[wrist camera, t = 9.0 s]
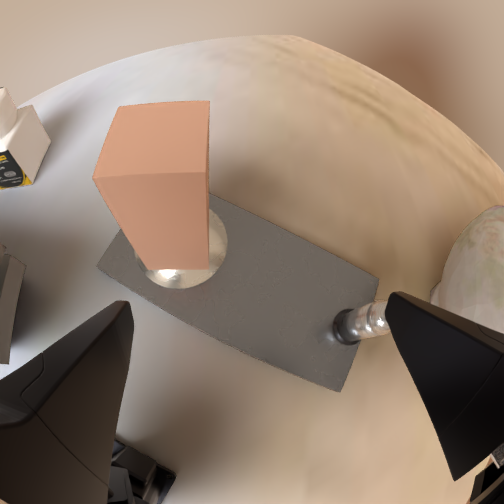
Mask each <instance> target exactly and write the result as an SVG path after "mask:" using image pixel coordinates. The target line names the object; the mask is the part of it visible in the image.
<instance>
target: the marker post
mask: <svg viewBox="0 0 504 504" xmlns="http://www.w3.org/2000/svg"><path fill="white" fill-rule="evenodd" d="M209 109H210V101H178V102H161V103H148V104H138V105H129V106H121V107H118V109H117V112H116V114H115V116H114V119H113V121H112V124H111V126H110V129H109V131H108V134H107V136H106V139H105V142H104V144H103V147H102V150H101V153H100V156H99V158H98V161H97V164H96V168H95V171H94V174H93V177H92V179H93V181H94V182H95V184H96V186H97V188H98V190H99V192H100V193H101V195H102V197H103V199H104V200H105V202H106V204H107V206H108V207H109V209H110V211H111V212H112V214H113V216H114V218H115V219H116V221H117V223H118V224H119V226H120V227H121V229H122V231H123V232H124V234H125V236H126V237H127V239H128V240H129V242H130V243H131V245H132V247H133V248H134V250H135V251H136V253H137V254H138V256H139V257H140V259H141V260H142V262H143V263H144V265H145V266H146V268H147V269H148V270H208V269H209Z"/></svg>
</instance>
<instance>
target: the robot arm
mask: <svg viewBox="0 0 504 504" xmlns="http://www.w3.org/2000/svg"><path fill="white" fill-rule="evenodd" d="M384 315H385V319H386V321H387V323H388V326H389V328H390V331H391V333H392V336H393V338H394V341H395V343H396V345H397V348H398V350H399V352H400V354H401V356H402V358H403V360H404V362H405V364H406V366H407V368H408V370H409V372H410V374H411V376H412V378H413V381H414V383H415V385H416V387H417V389H418V391H419V393H420V396H421V398H422V400H423V402H424V405H425V407H426V409H427V411H428V414H429V416H430V418H431V421H432V423H433V426H434V428H435V431H436V433H437V436H438V439H439V441H440V444H441V447H442V449H443V452H444V455H445V457H446V460H447V463H448V466H449V469H450V472H451V475H452V478H453V480H454V481H456V480H458V479H459V478H461V477H462V476H463V475H465V474H466V473H467V472H469V471H470V470H471V469H473V468H474V467H475V466H476V465H478V464H479V463H480V462H481V461H483V460H484V459H485V458H486V457H487V456H489V455H490V457H491V458H492V460H493V462H491V463H490V464H489V465H488V466H487V467H486V468H485V469H484V470H482V471H481V472H480V473H479V474H478V475H476V477H475V481H474V486H473V490H472V494H471V498H470V504H504V334H503V333H500V332H498V331H495V330H493V329H490V328H488V327H485V326H483V325H481V324H478V323H475V322H474V321H471V320H469V319H466V318H464V317H462V316H459V315H457V314H455V313H452V312H450V311H447V310H445V309H443V308H440V307H438V306H435V305H433V304H431V303H428V302H426V301H423V300H421V299H418V298H416V297H414V296H411V295H409V294H406V293H404V292H400V291H399V292H393V293H391V294H390V296H389V299H388V302H387V305H386V308H385V312H384ZM133 334H134V320H133V316H132V311H131V306H130V303H129V302H128V301H115V302H114V303H112V304H111V305H109V306H108V307H106V308H105V309H103V310H102V311H100V312H99V313H97V314H96V315H94V316H93V317H91V318H90V319H88V320H87V321H86V322H84V323H83V324H81V325H80V326H78V327H77V328H75V329H74V330H72V331H71V332H70V333H68V334H67V335H65V336H64V337H62V338H61V339H60V340H58V341H57V342H55V343H54V344H53V345H51V346H50V347H48V348H47V349H46V350H44V351H43V353H40V354H39V355H37V356H36V357H34V358H33V359H32V360H30V361H29V362H27V363H26V364H24V365H23V366H22V367H20V368H18V369H17V370H15V371H14V372H12V373H11V374H9V375H7V376H6V377H4V378H3V379H1V380H0V504H161V503H162V501H163V499H164V498H165V496H166V494H167V493H168V491H169V489H170V488H171V486H172V484H173V483H174V481H175V479H176V474H175V472H173V471H171V470H169V469H167V468H165V467H163V466H161V465H159V464H157V463H156V461H155V460H153V459H151V458H149V457H147V456H145V455H144V454H142V453H140V452H138V451H137V450H135V449H133V448H132V447H130V446H128V447H127V446H125V445H124V444H122V443H120V442H119V441H117V440H116V439H115V433H116V428H117V422H118V417H119V412H120V407H121V402H122V397H123V392H124V388H125V383H126V379H127V375H128V370H129V364H130V356H131V348H132V340H133ZM167 475H172V477H168V476H167Z"/></svg>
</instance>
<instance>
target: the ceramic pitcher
mask: <svg viewBox="0 0 504 504" xmlns="http://www.w3.org/2000/svg"><path fill="white" fill-rule="evenodd" d="M430 303H431V304H433V305H435V306H438V307H440V308H443V309H445V310H447V311H450V312H452V313H455V314H457V315H459V316H462V317H464V318H466V319H469V320H471V321H474V322H475V323H478V324H481V325H483V326H485V327H488V328H490V329H493V330H495V331H498V332H500V333H503V334H504V206H494V207H492V208H489V209H487V210H485V211H484V212H483V213H481V214H480V215H479V216H478V217H477V218H475V219H474V220H473V221H472V222H471V223H470V224H469V225H468V226H467V227H466V228H465V229H464V230H463V232H462V233H461V234H460V236H459V237H458V239H457V240H456V241H455V243H454V245H453V247H452V249H451V251H450V254H449V256H448V258H447V261H446V263H445V266H444V271H443V275H442V279H441V281H440V282H439V283H438V284H437V285H436V286H435V287H434V288H433V289H432V290H431V298H430Z"/></svg>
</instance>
